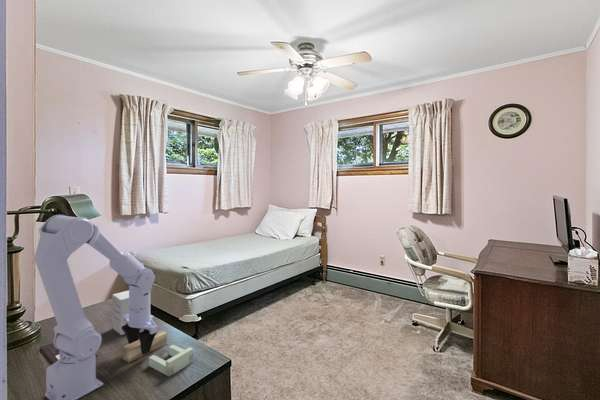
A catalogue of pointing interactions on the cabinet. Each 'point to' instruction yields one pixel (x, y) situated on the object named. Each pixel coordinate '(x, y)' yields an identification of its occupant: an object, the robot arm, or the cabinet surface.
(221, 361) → the cabinet surface
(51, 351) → the chocolate bar
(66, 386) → the robot arm
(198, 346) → the cabinet surface
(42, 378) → the cabinet surface
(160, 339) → the tan wooden block
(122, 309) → the supplement box
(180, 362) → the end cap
